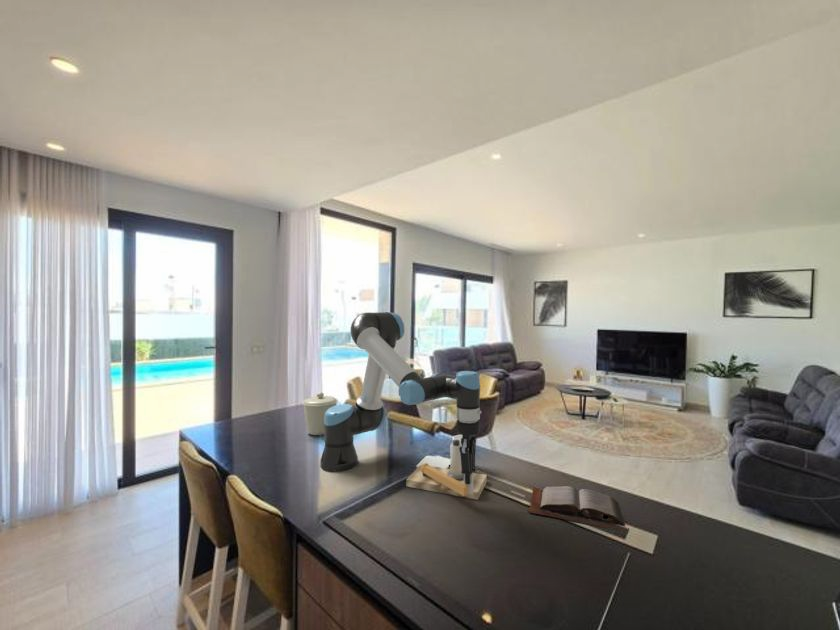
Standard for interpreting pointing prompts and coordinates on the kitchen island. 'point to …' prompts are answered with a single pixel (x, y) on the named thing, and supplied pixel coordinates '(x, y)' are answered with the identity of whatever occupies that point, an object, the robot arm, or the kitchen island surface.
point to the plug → (455, 461)
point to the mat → (435, 462)
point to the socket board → (430, 484)
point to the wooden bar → (444, 479)
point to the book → (576, 505)
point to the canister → (317, 412)
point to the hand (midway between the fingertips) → (468, 492)
